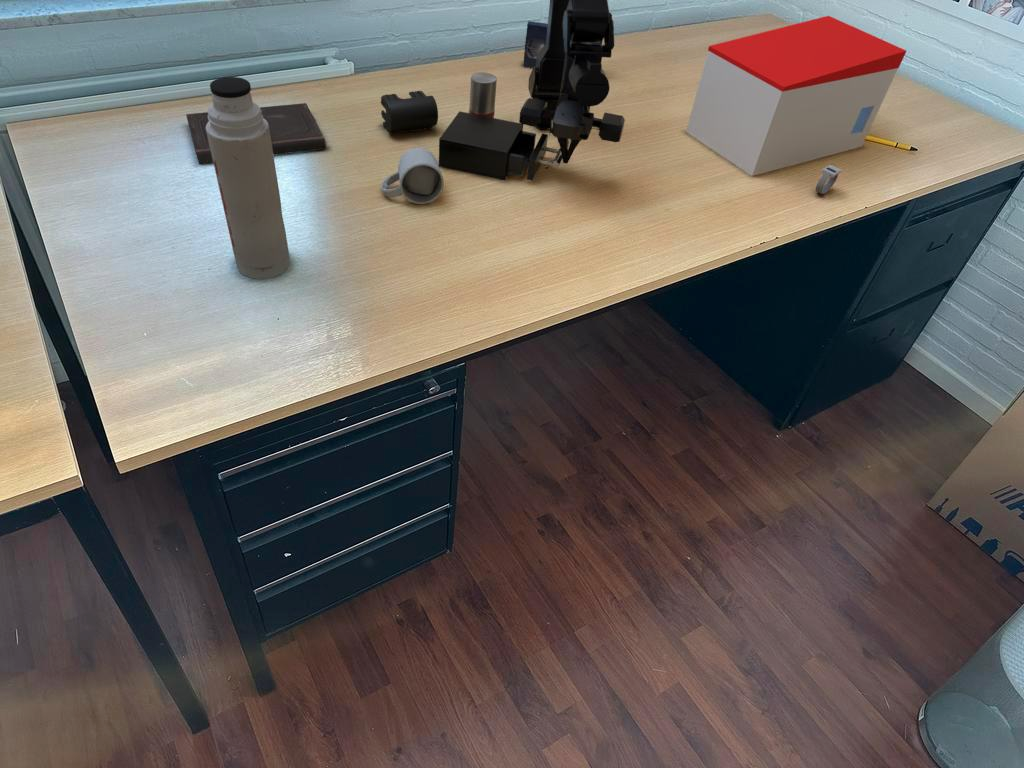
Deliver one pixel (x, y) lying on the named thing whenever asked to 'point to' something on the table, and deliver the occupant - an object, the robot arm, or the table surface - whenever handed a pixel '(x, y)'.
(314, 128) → the hardcover book
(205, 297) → the table surface
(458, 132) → the cabinet
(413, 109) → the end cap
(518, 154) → the drawer
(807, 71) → the bookstore
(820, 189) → the wristwatch
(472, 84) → the grey metal cylinder
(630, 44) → the table surface
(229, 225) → the thermos bottle
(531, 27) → the vhs cassette tape
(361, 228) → the table surface
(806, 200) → the table surface
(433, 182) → the ceramic mug
